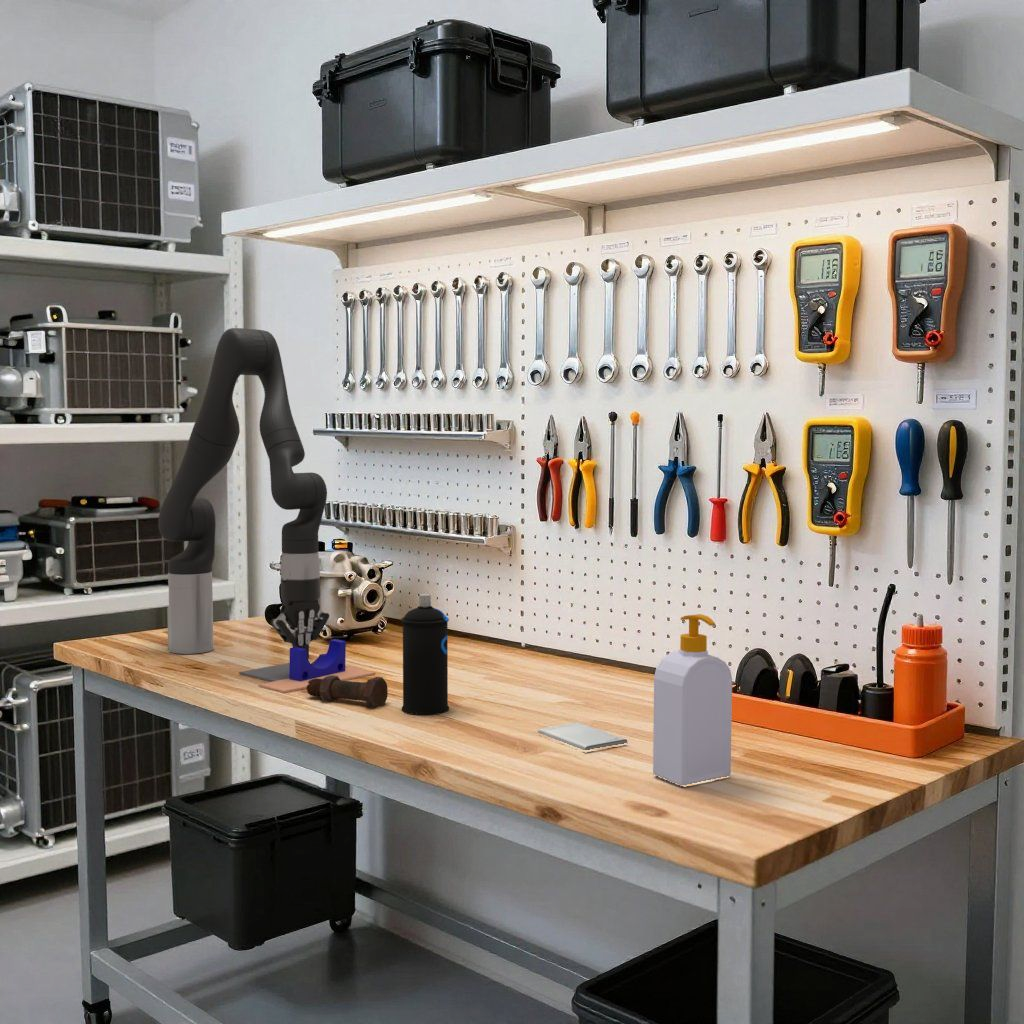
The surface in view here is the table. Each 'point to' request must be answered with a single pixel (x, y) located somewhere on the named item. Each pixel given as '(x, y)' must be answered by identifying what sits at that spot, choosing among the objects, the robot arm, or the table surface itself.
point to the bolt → (350, 690)
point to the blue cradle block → (317, 662)
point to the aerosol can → (425, 659)
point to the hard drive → (582, 736)
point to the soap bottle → (692, 711)
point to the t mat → (282, 683)
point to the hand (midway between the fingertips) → (300, 663)
